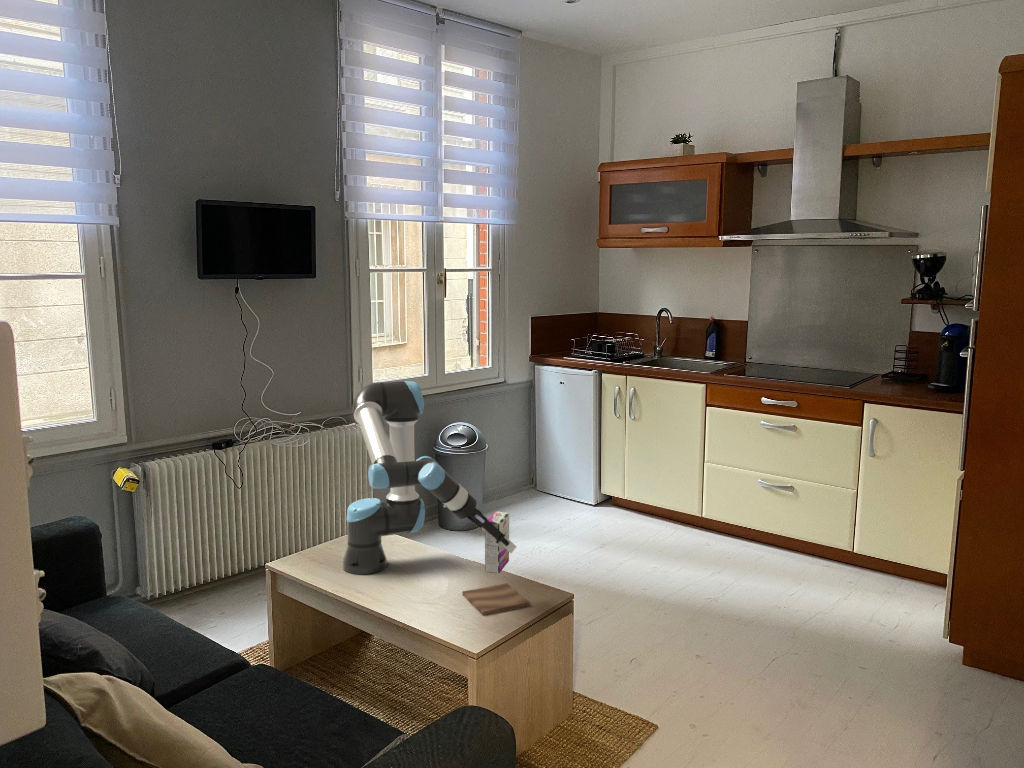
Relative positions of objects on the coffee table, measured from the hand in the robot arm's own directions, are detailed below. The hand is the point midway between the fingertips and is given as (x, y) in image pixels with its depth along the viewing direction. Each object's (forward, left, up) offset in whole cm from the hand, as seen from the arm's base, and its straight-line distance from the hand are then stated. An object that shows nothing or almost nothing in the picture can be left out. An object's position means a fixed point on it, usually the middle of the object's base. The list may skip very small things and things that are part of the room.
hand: (505, 543), depth 247 cm
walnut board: (-1, -3, -19) cm, 19 cm away
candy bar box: (0, -3, -7) cm, 8 cm away
